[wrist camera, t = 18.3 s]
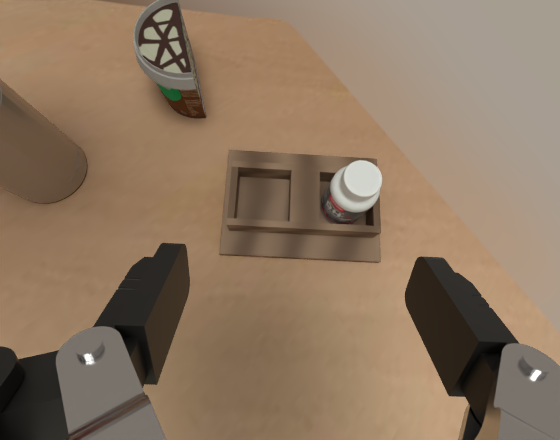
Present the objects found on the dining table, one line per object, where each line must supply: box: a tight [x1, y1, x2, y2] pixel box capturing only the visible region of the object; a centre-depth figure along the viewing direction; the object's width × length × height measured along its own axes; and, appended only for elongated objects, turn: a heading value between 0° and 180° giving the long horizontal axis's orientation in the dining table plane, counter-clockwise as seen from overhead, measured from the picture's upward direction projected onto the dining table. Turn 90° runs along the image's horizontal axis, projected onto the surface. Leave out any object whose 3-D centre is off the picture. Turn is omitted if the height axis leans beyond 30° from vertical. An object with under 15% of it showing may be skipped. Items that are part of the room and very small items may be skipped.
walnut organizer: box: [220, 150, 381, 263], centre depth 40 cm, size 20×14×4 cm
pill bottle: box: [321, 160, 382, 225], centre depth 36 cm, size 5×5×10 cm
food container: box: [133, 0, 206, 118], centre depth 41 cm, size 12×6×10 cm, turn 13°
